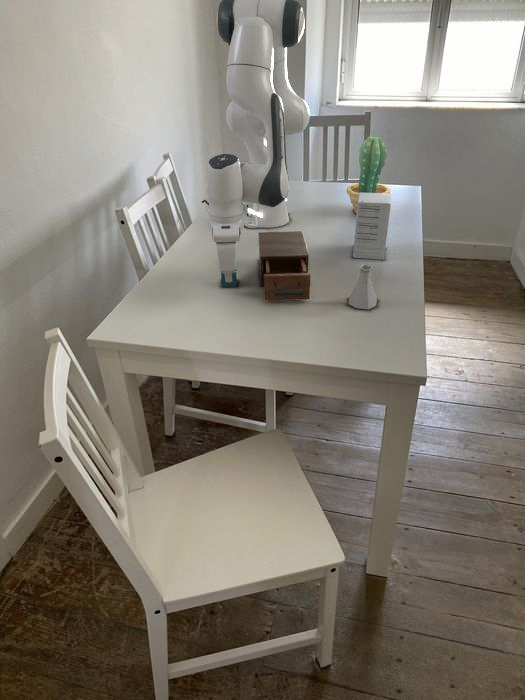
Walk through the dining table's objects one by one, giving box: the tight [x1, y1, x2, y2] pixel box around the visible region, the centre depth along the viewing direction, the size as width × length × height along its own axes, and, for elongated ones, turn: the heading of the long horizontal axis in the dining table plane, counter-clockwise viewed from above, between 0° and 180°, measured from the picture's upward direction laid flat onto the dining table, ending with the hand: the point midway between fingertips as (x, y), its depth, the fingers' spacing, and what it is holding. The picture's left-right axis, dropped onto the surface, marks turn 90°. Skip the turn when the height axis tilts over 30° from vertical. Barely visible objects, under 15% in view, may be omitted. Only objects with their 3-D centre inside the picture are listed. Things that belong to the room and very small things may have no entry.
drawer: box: [263, 258, 311, 301], centre depth 136 cm, size 21×11×7 cm, turn 2°
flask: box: [347, 263, 378, 310], centre depth 131 cm, size 7×7×10 cm
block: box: [220, 266, 238, 288], centre depth 142 cm, size 4×4×4 cm
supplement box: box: [352, 193, 392, 261], centre depth 154 cm, size 10×9×17 cm
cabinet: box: [258, 230, 310, 287], centre depth 147 cm, size 17×13×9 cm
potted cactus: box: [346, 135, 391, 214], centre depth 182 cm, size 15×15×25 cm
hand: (229, 273), depth 141 cm, fingers open, 8 cm apart
